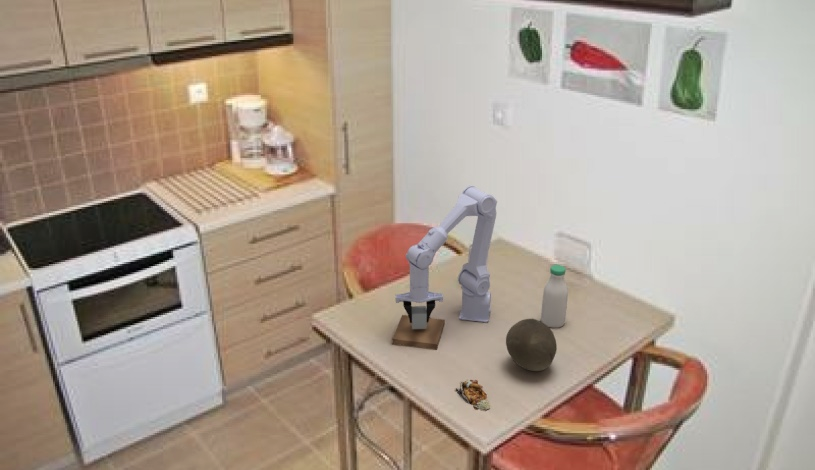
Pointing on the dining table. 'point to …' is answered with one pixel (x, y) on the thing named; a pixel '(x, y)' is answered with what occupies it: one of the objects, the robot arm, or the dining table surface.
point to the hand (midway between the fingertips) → (418, 320)
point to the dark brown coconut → (531, 344)
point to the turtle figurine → (474, 394)
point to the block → (419, 317)
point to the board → (418, 333)
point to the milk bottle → (555, 298)
